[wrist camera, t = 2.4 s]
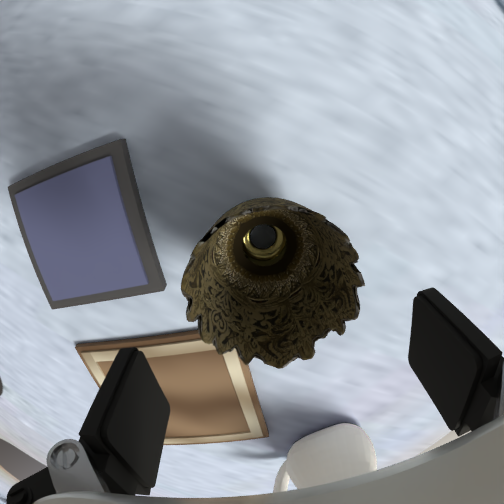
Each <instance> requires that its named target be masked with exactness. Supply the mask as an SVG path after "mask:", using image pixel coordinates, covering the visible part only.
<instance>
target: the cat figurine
mask: <svg viewBox="0 0 504 504" xmlns="http://www.w3.org/2000/svg"><path fill="white" fill-rule="evenodd" d="M376 470H377V459H376V453H375V449H374V446H373V443H372V441H371V439H370V437H369V436H368V435H367V434H366V432H365V431H364V430H363V429H362V428H360V427H359V426H356V425H353V424H349V423H341V424H337V425H334V426H331V427H328V428H325V429H322V430H320V431H317V432H314V433H312V434H310V435H307V436H305V437H303V438H302V439H300V440H299V441H297V442H295V443H294V444H293V445H292V447H291V449H290V450H289V452H288V454H287V460H286V461H285V462H284V463H283V464H282V466H281V467H280V469H279V471H278V473H277V476H276V479H275V484H274V490H273V493H276V492H283V491H287V488H288V483H289V479H291V480H292V482H293V483H294V485H295V486H296V487H297V489H302V488H307V487H312V486H317V485H322V484H327V483H331V482H335V481H340V480H344V479H348V478H351V477H355V476H359V475H362V474H366V473H369V472H372V471H376Z"/></svg>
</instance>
